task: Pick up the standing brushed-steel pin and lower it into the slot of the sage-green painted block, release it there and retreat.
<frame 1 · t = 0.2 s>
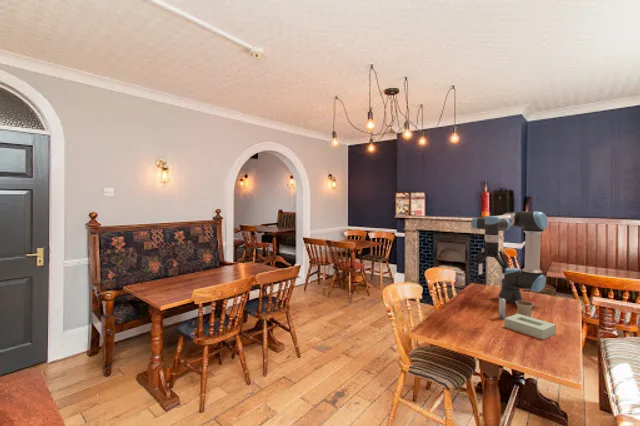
hand: (491, 276, 193), 27 cm above the table, fingers open, 13 cm apart
slot block: (529, 330, 178), on the table
pin: (502, 318, 196), on the table
flower pot: (524, 317, 199), on the table
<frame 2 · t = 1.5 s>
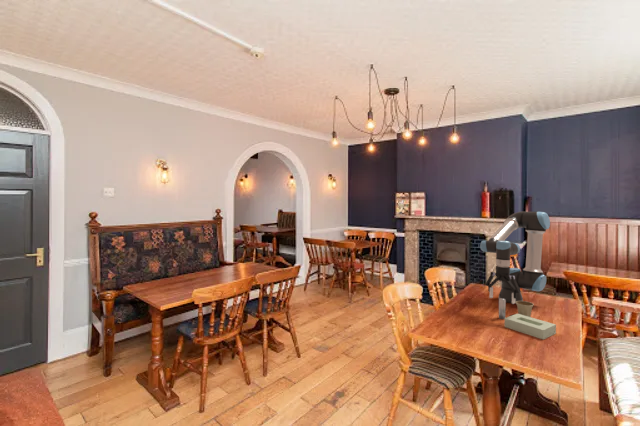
hand: (502, 300, 196), 11 cm above the table, fingers open, 13 cm apart
nothing on the table moved.
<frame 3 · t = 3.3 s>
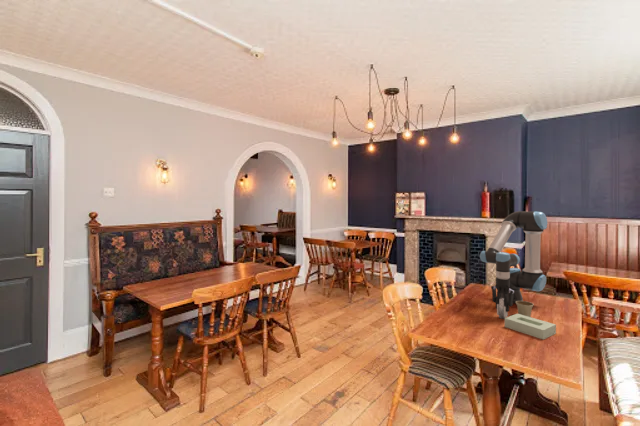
hand: (502, 315, 196), 2 cm above the table, fingers closed on pin, 3 cm apart
pin: (502, 317, 197), on the table, touching gripper
everything else where it was.
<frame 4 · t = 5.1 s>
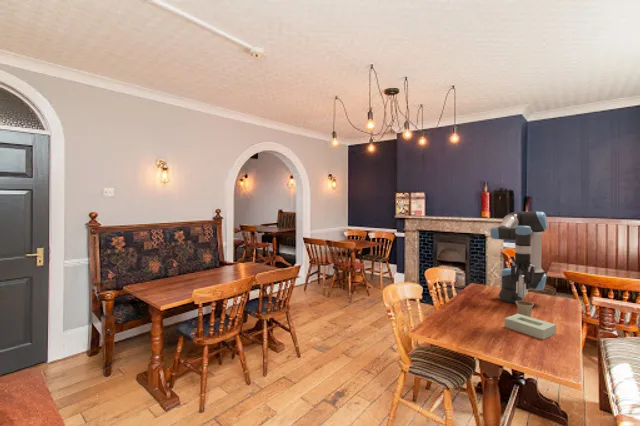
hand: (521, 293, 182), 19 cm above the table, fingers closed on pin, 3 cm apart
pin: (521, 296, 182), point 18 cm above the table, touching gripper
everything else where it was.
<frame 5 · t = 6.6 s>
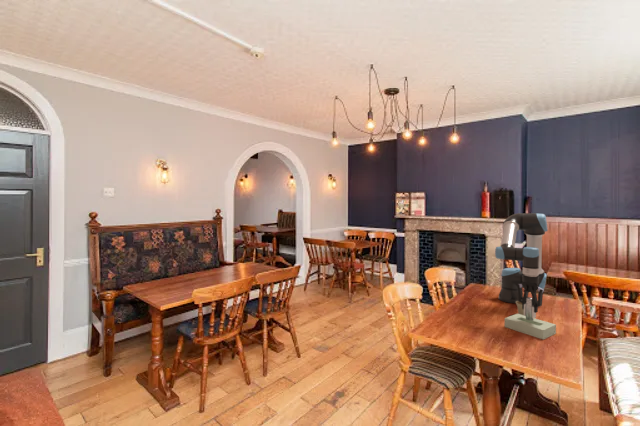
hand: (529, 316, 178), 8 cm above the table, fingers closed on pin, 3 cm apart
pin: (529, 319, 178), point 6 cm above the table, touching gripper
everything else where it was.
when the fingers open (5 cm above the table, at t = 7.5 s): pin drops 2 cm, resting on slot block.
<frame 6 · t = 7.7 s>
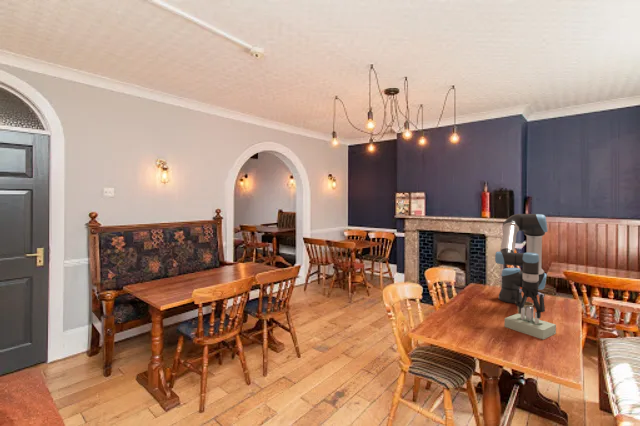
hand: (529, 321, 178), 5 cm above the table, fingers open, 7 cm apart
pin: (529, 328, 178), point 1 cm above the table, touching slot block
everything else where it was.
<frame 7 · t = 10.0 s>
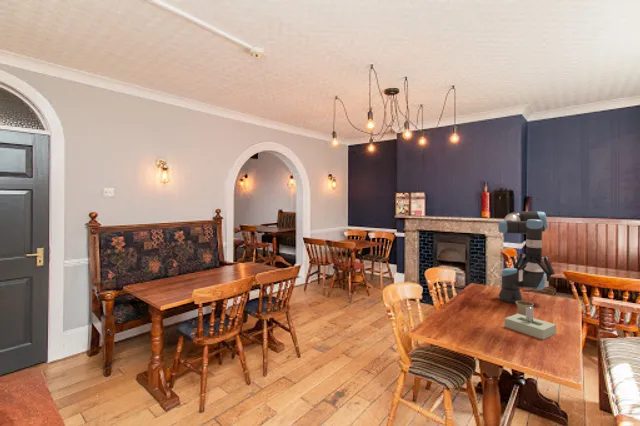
hand: (533, 283, 181), 25 cm above the table, fingers open, 13 cm apart
nothing on the table moved.
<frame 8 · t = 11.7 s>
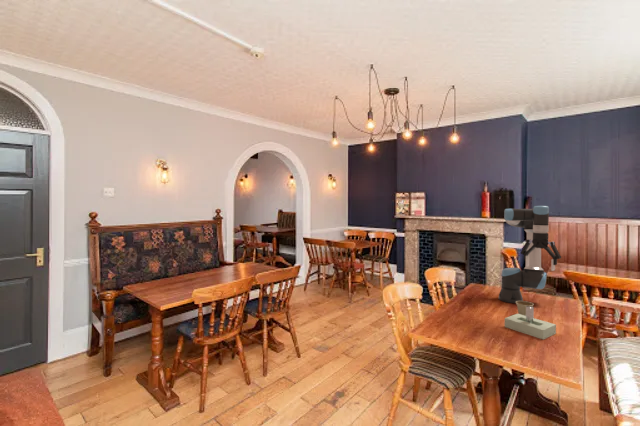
hand: (539, 268, 187), 33 cm above the table, fingers open, 13 cm apart
nothing on the table moved.
at the end: pin inside the target area on the slot block (0.1 cm from its centre), point 1.0 cm above the slot block's base; pin tilted 0°; the gripper is holding nothing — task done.
